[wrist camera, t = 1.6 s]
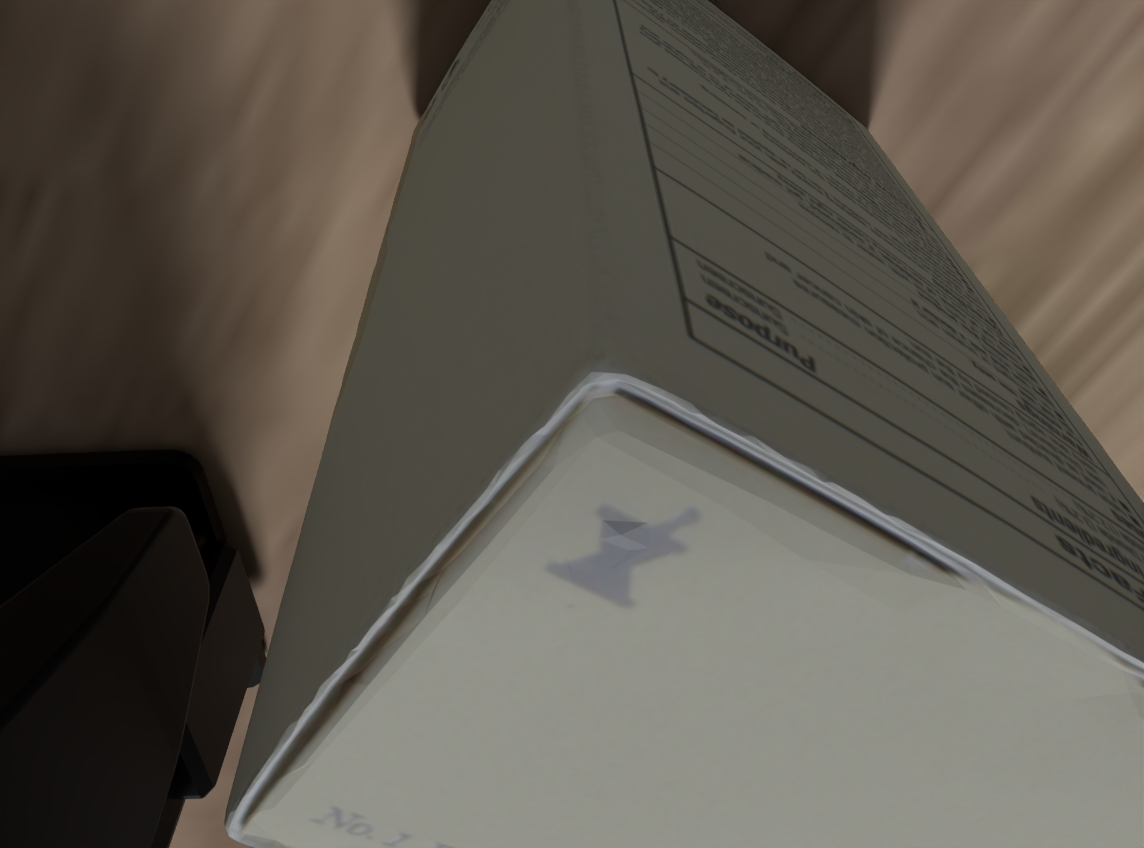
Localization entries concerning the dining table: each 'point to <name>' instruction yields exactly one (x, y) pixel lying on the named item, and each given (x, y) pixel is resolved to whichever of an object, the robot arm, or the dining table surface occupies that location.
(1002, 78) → the dining table surface
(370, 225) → the dining table surface
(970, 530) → the skincare box
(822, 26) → the dining table surface
